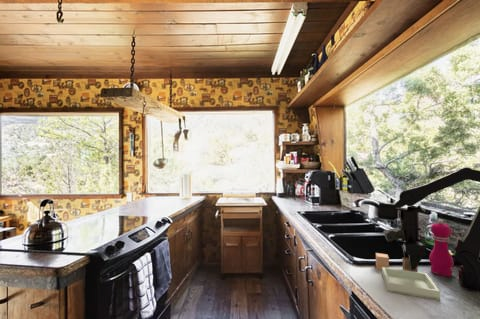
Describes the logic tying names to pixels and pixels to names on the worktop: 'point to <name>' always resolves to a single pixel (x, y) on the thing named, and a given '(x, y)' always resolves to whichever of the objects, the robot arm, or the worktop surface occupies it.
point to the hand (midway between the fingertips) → (410, 264)
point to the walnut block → (407, 265)
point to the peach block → (382, 261)
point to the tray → (410, 283)
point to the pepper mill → (441, 249)
